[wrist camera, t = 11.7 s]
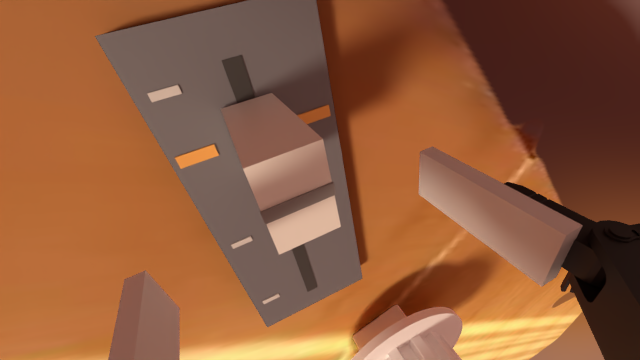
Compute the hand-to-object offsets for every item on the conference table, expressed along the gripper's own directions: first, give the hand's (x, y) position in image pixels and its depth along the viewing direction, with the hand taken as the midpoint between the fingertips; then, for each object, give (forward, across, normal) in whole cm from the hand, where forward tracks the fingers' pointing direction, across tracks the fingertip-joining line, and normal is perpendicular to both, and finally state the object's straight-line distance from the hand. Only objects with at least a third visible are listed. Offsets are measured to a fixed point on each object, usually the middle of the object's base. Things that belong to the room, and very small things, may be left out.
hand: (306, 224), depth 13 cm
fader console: (+14, +1, -8) cm, 16 cm away
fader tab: (+12, 0, 0) cm, 12 cm away
